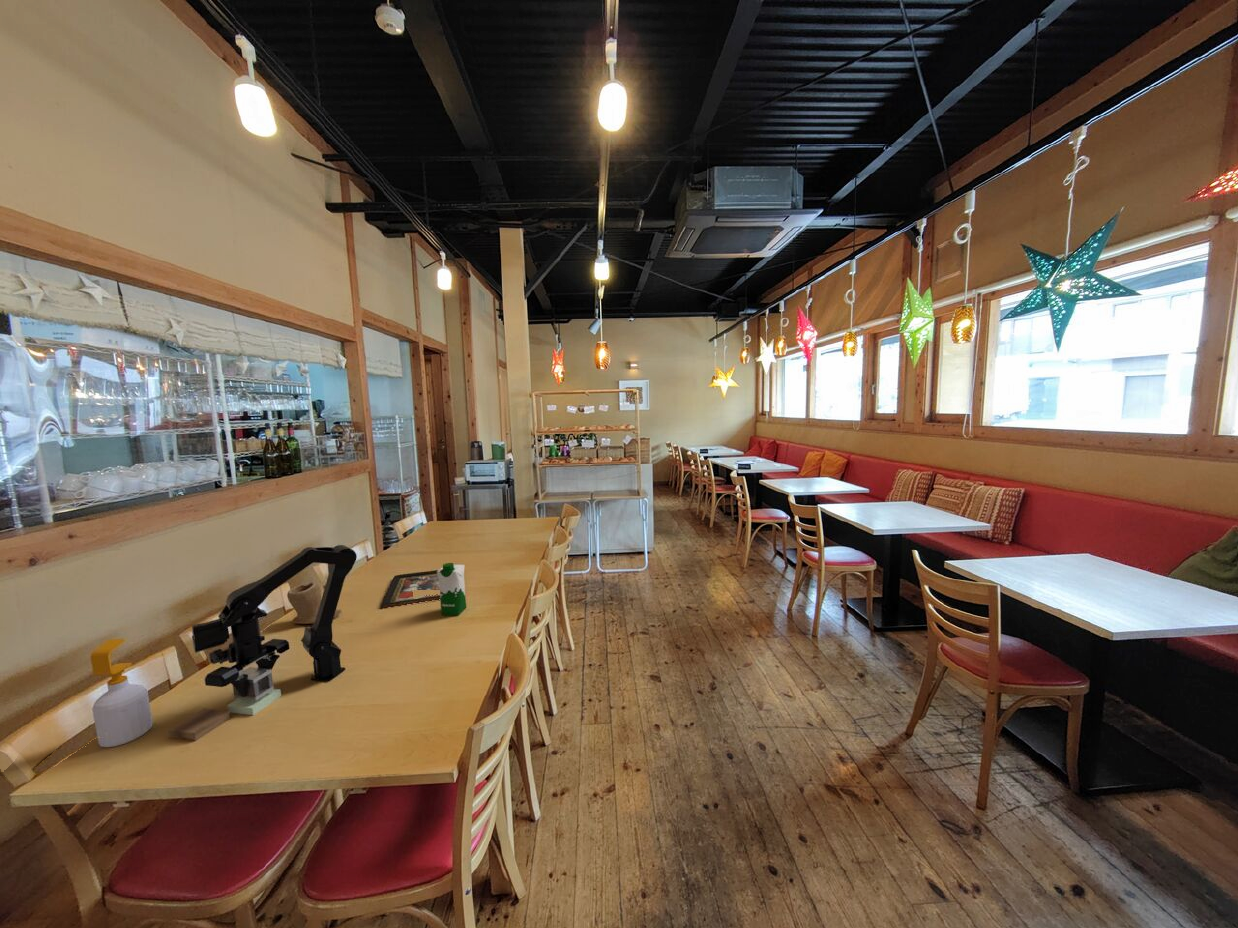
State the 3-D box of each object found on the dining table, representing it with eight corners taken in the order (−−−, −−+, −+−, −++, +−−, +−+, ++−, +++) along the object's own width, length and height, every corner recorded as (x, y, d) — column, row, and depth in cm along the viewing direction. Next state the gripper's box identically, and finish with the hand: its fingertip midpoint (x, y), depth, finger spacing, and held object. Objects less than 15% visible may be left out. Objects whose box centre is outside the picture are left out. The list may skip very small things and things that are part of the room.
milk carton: (438, 616, 172) (434, 566, 170) (449, 606, 181) (445, 558, 179) (459, 616, 171) (456, 566, 169) (469, 606, 180) (466, 558, 178)
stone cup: (282, 628, 166) (278, 589, 164) (308, 613, 178) (304, 577, 176) (319, 629, 164) (314, 590, 162) (343, 615, 176) (339, 578, 174)
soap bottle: (163, 721, 116) (148, 632, 113) (125, 747, 107) (109, 651, 104) (127, 723, 116) (112, 633, 113) (87, 749, 107) (69, 653, 104)
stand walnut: (229, 718, 116) (228, 711, 116) (195, 740, 109) (194, 733, 108) (204, 715, 118) (203, 708, 118) (169, 737, 110) (168, 729, 110)
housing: (273, 689, 124) (271, 668, 123) (256, 700, 119) (253, 679, 118) (252, 686, 125) (250, 666, 124) (234, 698, 120) (231, 677, 119)
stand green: (281, 695, 125) (280, 689, 125) (253, 715, 117) (252, 708, 117) (257, 693, 127) (256, 686, 126) (228, 712, 119) (227, 705, 119)
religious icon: (384, 581, 211) (384, 575, 211) (462, 569, 226) (462, 563, 226) (380, 614, 177) (379, 607, 177) (472, 597, 192) (471, 591, 192)
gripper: (255, 618, 130) (262, 668, 132) (183, 652, 112) (192, 710, 114) (287, 620, 128) (294, 671, 130) (219, 656, 110) (227, 714, 112)
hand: (254, 690), depth 122 cm, fingers closed on housing, 5 cm apart
